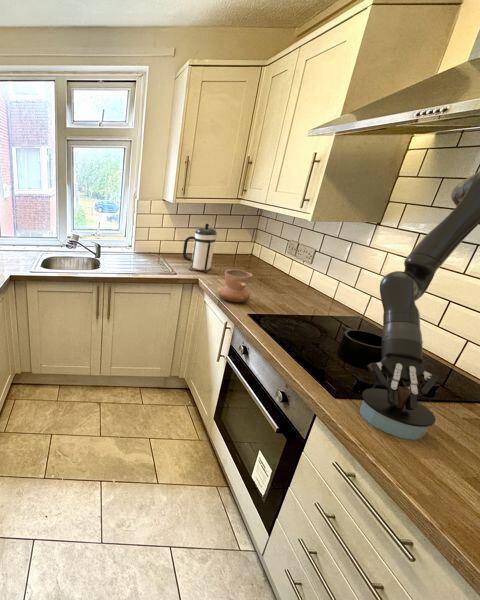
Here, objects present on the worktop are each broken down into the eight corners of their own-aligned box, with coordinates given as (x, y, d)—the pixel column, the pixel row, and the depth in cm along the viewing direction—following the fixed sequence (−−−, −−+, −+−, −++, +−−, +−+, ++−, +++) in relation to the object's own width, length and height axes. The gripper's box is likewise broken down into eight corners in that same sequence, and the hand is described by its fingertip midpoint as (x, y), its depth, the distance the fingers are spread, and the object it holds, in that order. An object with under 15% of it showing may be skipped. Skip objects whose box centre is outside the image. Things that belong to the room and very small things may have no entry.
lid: (398, 391, 87) (406, 373, 84) (450, 429, 74) (463, 409, 72) (348, 391, 87) (355, 372, 84) (392, 428, 74) (402, 407, 72)
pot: (357, 346, 116) (365, 326, 113) (401, 375, 100) (412, 352, 97) (323, 346, 117) (330, 325, 113) (361, 375, 100) (371, 352, 97)
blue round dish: (392, 404, 87) (399, 391, 86) (439, 440, 76) (447, 425, 74) (347, 404, 88) (353, 390, 86) (386, 439, 76) (393, 424, 74)
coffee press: (205, 266, 215) (212, 221, 203) (216, 273, 200) (224, 225, 188) (180, 266, 214) (186, 221, 202) (189, 273, 199) (196, 225, 188)
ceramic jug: (255, 306, 151) (262, 278, 145) (225, 305, 151) (230, 277, 146) (239, 293, 167) (244, 267, 162) (211, 292, 168) (216, 267, 162)
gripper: (427, 352, 84) (429, 418, 78) (361, 340, 89) (359, 401, 84) (447, 344, 77) (451, 415, 72) (374, 332, 83) (373, 397, 77)
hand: (401, 407), depth 78 cm, fingers closed on lid, 2 cm apart
